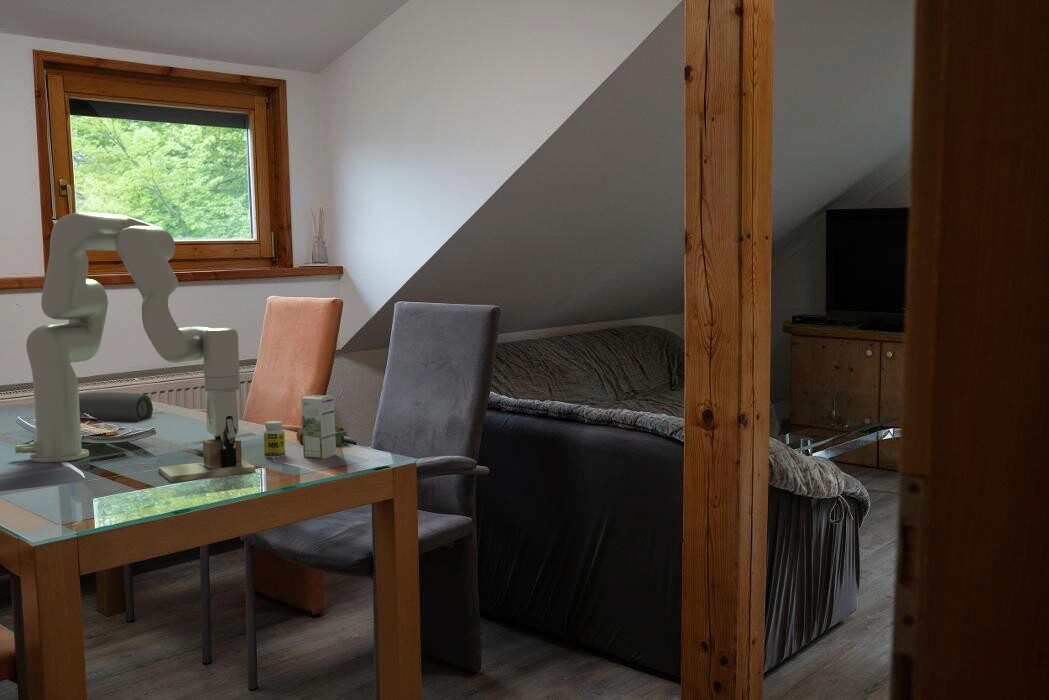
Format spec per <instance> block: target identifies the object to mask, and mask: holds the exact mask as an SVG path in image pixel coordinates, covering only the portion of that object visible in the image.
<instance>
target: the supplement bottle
mask: <svg viewBox="0 0 1049 700" xmlns="http://www.w3.org/2000/svg"><path fill="white" fill-rule="evenodd" d="M264 425H265V426H264V428H265V430H264V431H263V447H264V448H263V450H264V452H263V453H264V457H265V456H266V457H265V458H268V457H277V458H281V457H280V456H283V457H285V456H284V455H286V449H285V448H286V445H285V442H286V439H285V430H284V429H283V427H284V425H283V421H281V420H270V421H266V422H264Z"/></svg>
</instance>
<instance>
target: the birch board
mask: <svg viewBox="0 0 1049 700" xmlns="http://www.w3.org/2000/svg"><path fill="white" fill-rule="evenodd" d="M158 472H159V474H160V475H161V476H162V477H164V478H165V479H166V480H168V481H169V482H170V483H175V482H184V481H190V480H198V479H208V478H217V477H225V476H234V475H242V474H249V473H256V466H255V465H253V464H251V463H250V462H248V461H246V460H244V459H243V458H242V465H236V466H234V467H226V468H222V467H219V468H211V469H210V468H208V467H207V466H205V465H204V461H202V462H194V463H193V462H192V463H183V464H175V465H168V466H167V465H165V466H159V467H158Z"/></svg>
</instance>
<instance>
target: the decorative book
mask: <svg viewBox="0 0 1049 700" xmlns="http://www.w3.org/2000/svg"><path fill="white" fill-rule="evenodd" d="M347 433H348V432H347V431H345V428H343V427H342V426H339V425H337V424H335V442H336V446H347V445H348V442H346V441H345V437H347V436H348V434H347ZM296 439H297V440H299V442H298V443H299V444H300V445H303V429H302V427H300V429H298V430H297V432H296Z"/></svg>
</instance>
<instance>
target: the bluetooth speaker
mask: <svg viewBox="0 0 1049 700" xmlns="http://www.w3.org/2000/svg"><path fill="white" fill-rule="evenodd" d="M153 406H154V405H153V403H152V400H151V398H150V397H149V395H147V394H143V393H134V392H133V393H132V392H131V393H130V392H129V393H128V392H119V391H118V392H117V391H116V392H112V391H108V392H107V391H105V392H103V391H101V392H100V391H98V392H97V391H96V392H79V408H80V413H86V414H89V415H90V416H92V417H94V418H97V419H100V420H99V421H126V422H127V421H128V422H130V421H131V422H133V421H134V422H139V421H140V422H141V420H142V419H151V418H152V416H153V412H154V407H153Z"/></svg>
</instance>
